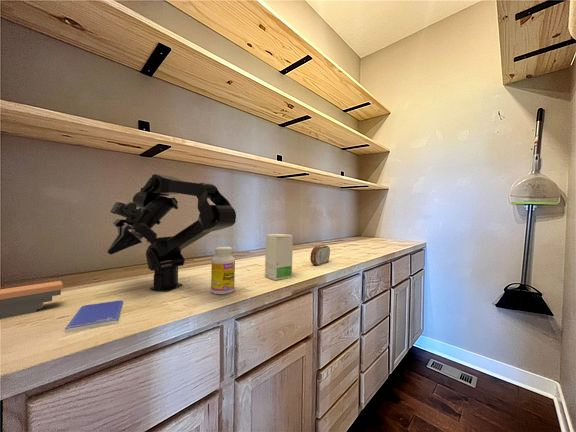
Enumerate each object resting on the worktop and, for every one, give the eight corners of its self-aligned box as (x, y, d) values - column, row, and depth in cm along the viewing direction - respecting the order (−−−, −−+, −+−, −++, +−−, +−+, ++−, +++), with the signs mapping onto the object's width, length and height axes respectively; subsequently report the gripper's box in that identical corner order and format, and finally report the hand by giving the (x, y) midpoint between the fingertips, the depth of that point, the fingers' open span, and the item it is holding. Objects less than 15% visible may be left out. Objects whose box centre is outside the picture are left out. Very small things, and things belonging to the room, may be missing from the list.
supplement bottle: (222, 296, 66) (223, 250, 66) (206, 292, 70) (206, 248, 69) (239, 290, 72) (239, 247, 72) (223, 286, 75) (223, 245, 75)
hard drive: (117, 318, 49) (123, 299, 60) (64, 327, 45) (81, 305, 56) (117, 326, 49) (123, 305, 60) (64, 335, 45) (81, 312, 56)
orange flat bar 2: (59, 285, 60) (-3, 295, 53) (60, 289, 57) (-6, 300, 50) (59, 290, 60) (-3, 300, 53) (60, 294, 57) (-6, 306, 50)
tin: (325, 261, 118) (325, 243, 118) (331, 261, 117) (331, 244, 116) (309, 266, 106) (309, 247, 106) (315, 267, 104) (316, 247, 104)
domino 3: (43, 297, 58) (-24, 308, 51) (42, 302, 55) (-29, 315, 48) (43, 302, 58) (-24, 314, 52) (42, 307, 55) (-29, 321, 48)
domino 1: (60, 280, 61) (-2, 289, 53) (62, 284, 58) (-3, 294, 50) (60, 285, 61) (-2, 295, 53) (62, 289, 58) (-3, 300, 50)
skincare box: (275, 281, 82) (275, 235, 82) (263, 277, 87) (264, 234, 87) (293, 277, 88) (293, 234, 87) (281, 273, 92) (282, 233, 92)
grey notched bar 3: (51, 291, 60) (-13, 301, 52) (52, 295, 56) (-16, 307, 49) (51, 296, 60) (-13, 307, 52) (52, 301, 56) (-16, 313, 49)
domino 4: (37, 303, 58) (-32, 315, 51) (36, 309, 55) (-37, 322, 48) (37, 308, 58) (-32, 321, 51) (36, 314, 55) (-37, 328, 48)
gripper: (121, 192, 74) (73, 230, 66) (145, 192, 62) (90, 237, 54) (148, 218, 81) (108, 254, 73) (174, 222, 69) (130, 266, 61)
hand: (108, 253), depth 65 cm, fingers closed
